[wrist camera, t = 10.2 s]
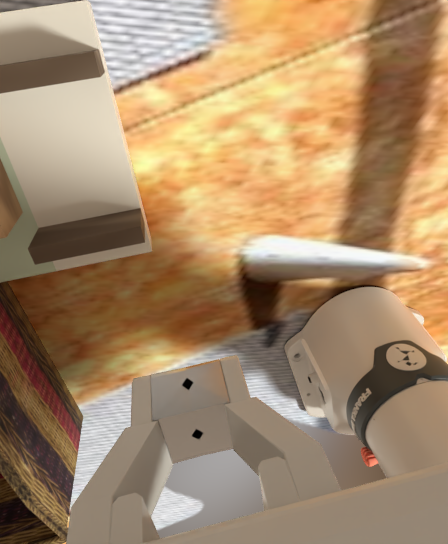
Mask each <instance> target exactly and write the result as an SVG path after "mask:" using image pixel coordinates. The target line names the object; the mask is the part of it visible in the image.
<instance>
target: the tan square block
mask: <svg viewBox="0 0 448 544" xmlns="http://www.w3.org/2000/svg"><path fill="white" fill-rule="evenodd" d="M22 213H23V211H22V209H21V206H20V204H19V202H18V199H17V197H16V194H15V192H14V190H13V187H12V185H11V182H10V180H9V178H8V175H7V173H6V170H5V168H4V166H3V163H2V161H1V159H0V239H1V238H6V237H7V236H8V234H9V233H10V231H11V230H12V228H13V227H14V225H15V224H16V222H17V221H18V219H19V218H20V216H21V214H22Z"/></svg>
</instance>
